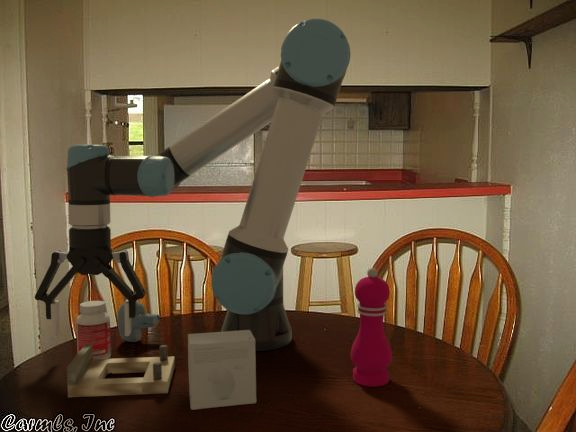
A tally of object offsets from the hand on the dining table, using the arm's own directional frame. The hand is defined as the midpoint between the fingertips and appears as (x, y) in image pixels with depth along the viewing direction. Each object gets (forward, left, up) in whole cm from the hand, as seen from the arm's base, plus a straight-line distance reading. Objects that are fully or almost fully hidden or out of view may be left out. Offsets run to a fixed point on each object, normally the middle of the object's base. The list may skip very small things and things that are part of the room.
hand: (92, 334), depth 108 cm
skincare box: (-25, +21, -5) cm, 33 cm away
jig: (-8, +12, -5) cm, 15 cm away
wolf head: (-7, -10, -5) cm, 13 cm away
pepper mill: (-51, +16, -5) cm, 54 cm away
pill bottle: (0, 0, -5) cm, 5 cm away
